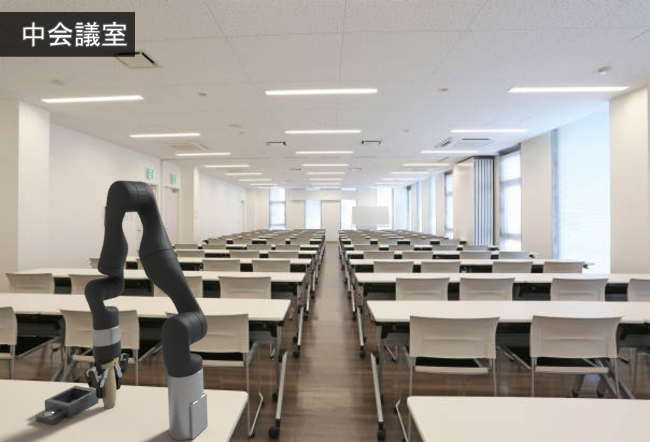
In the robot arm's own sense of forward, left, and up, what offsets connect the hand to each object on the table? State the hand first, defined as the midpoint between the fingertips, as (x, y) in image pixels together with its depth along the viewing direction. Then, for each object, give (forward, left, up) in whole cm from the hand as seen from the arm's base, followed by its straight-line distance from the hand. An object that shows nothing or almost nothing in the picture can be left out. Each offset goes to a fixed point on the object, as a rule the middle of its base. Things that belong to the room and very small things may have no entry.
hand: (109, 393), depth 109 cm
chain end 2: (+11, +2, -4) cm, 12 cm away
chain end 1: (+11, +6, -4) cm, 13 cm away
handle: (0, 0, -5) cm, 5 cm away
